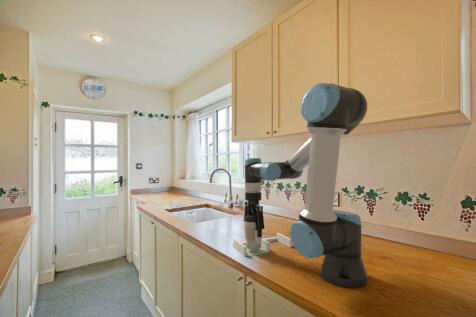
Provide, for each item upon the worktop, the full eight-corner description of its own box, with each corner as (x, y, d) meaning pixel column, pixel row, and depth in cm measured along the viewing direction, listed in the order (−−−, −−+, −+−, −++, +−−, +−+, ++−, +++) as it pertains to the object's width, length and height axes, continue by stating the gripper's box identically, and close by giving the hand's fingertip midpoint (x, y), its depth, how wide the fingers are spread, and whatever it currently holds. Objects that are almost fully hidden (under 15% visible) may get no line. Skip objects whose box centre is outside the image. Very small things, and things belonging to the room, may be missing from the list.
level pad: (268, 252, 107) (268, 252, 107) (247, 256, 103) (247, 256, 103) (258, 245, 117) (258, 245, 117) (238, 249, 112) (238, 248, 112)
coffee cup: (240, 248, 108) (240, 215, 108) (248, 242, 116) (248, 211, 116) (259, 252, 103) (258, 217, 104) (266, 245, 111) (266, 213, 112)
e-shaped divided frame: (291, 247, 114) (291, 239, 114) (244, 256, 104) (244, 247, 104) (276, 239, 126) (276, 231, 126) (232, 246, 116) (232, 238, 116)
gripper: (272, 193, 101) (273, 247, 101) (250, 188, 121) (250, 233, 121) (256, 195, 98) (257, 250, 98) (236, 189, 118) (236, 235, 118)
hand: (253, 240), depth 110 cm, fingers closed on coffee cup, 8 cm apart
